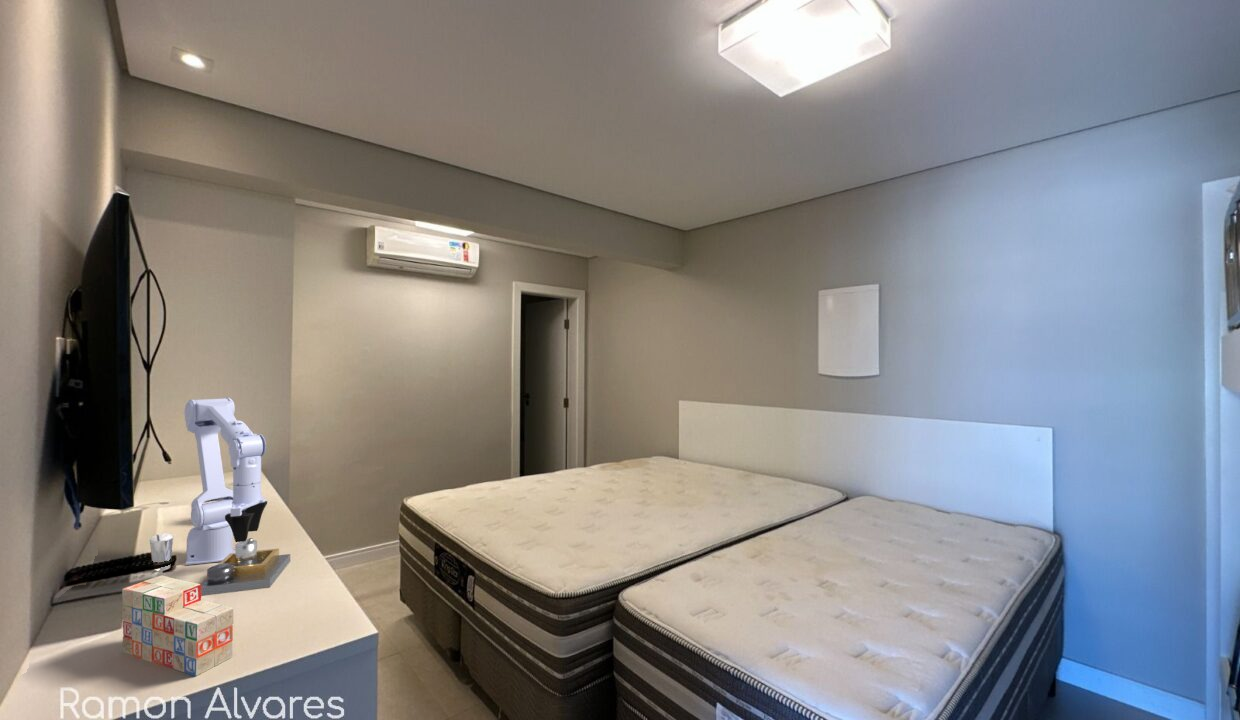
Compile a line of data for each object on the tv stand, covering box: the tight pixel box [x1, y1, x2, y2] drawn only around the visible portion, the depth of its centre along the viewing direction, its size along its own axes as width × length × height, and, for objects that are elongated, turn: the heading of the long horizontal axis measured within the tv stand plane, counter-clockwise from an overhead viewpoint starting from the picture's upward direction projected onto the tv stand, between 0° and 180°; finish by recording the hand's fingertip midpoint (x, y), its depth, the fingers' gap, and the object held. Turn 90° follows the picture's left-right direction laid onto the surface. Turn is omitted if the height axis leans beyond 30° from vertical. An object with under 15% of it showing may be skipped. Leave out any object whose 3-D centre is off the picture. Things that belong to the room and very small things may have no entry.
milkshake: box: [149, 532, 175, 572], centre depth 129 cm, size 5×5×10 cm
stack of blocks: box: [121, 574, 234, 677], centre depth 93 cm, size 21×6×12 cm, turn 70°
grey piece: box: [201, 547, 291, 597], centre depth 125 cm, size 14×16×5 cm
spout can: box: [234, 537, 258, 566], centre depth 126 cm, size 4×4×7 cm
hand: (246, 536), depth 126 cm, fingers open, 7 cm apart
